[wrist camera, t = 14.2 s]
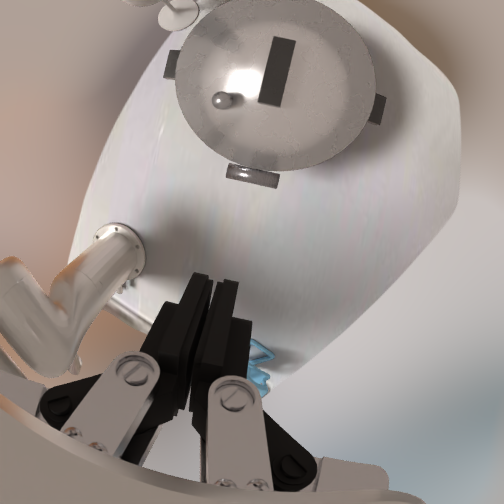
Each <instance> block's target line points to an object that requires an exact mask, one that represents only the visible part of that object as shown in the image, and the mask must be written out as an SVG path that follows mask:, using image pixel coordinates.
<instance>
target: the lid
mask: <svg viewBox="0 0 504 504" xmlns="http://www.w3.org/2000/svg"><path fill="white" fill-rule="evenodd" d="M175 86H176V94H177V98H178V102H179V105H180V108H181V110H182V113H183V115H184V117H185V119H186V121H187V122H188V124H189V125H190V127H191V128H192V130H193V131H194V132H195V133H196V135H197V136H198V137H199V138H200V139H201V140H202V141H203V142H204V143H205V144H206V145H207V146H208V147H210V148H211V149H213V150H214V151H215V152H217V153H218V154H220V155H222V156H223V157H225V158H227V159H229V160H231V161H233V162H236V163H238V164H240V165H236V164H231V163H229V165H228V168H227V173H226V178H229V179H234V180H239V181H243V182H248V183H252V184H257V185H261V186H266V187H270V188H274V189H277V186H278V182H279V177H280V174H277V173H272V172H268V171H291V170H298V169H303V168H308V167H311V166H314V165H317V164H320V163H322V162H324V161H326V160H328V159H330V158H332V157H334V156H335V155H337V154H338V153H340V152H341V151H343V150H344V149H345V148H346V147H347V146H348V145H350V144H351V143H352V142H353V140H354V139H355V138H356V137H357V136H358V135H359V133H360V132H361V131H362V129H363V128H364V126H365V124H366V122H367V120H368V118H369V116H370V114H371V111H372V108H373V104H374V99H375V93H376V78H375V70H374V66H373V62H372V59H371V56H370V54H369V51H368V49H367V47H366V45H365V43H364V42H363V40H362V38H361V37H360V35H359V34H358V33H357V32H356V30H355V29H354V28H353V27H352V26H351V25H350V24H349V23H348V22H347V21H346V20H345V19H344V18H343V17H342V16H340V15H339V14H338V13H336V12H335V11H334V10H332V9H330V8H329V7H327V6H325V5H323V4H322V3H319V2H317V1H315V0H231V1H229V2H227V3H224V4H222V5H221V6H219V7H217V8H216V9H214V10H213V11H211V12H210V13H209V14H207V15H206V16H205V17H204V18H203V19H201V21H200V22H199V23H198V24H197V25H196V26H195V27H194V28H193V29H192V31H191V32H190V34H189V35H188V37H187V38H186V40H185V42H184V44H183V46H182V48H181V51H180V54H179V57H178V60H177V66H176V72H175ZM241 165H243V166H241ZM246 166H247V167H246ZM250 167H251V168H250ZM259 169H260V170H259ZM264 170H266V171H264Z"/></svg>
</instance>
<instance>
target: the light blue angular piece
mask: <svg viewBox="0 0 504 504" xmlns="http://www.w3.org/2000/svg"><path fill="white" fill-rule="evenodd" d="M251 344H253V345H254V346H256V347H257V348H258V349H260V350H261V351H263V352H264V353H266V354H267V355H268V356H266V357H263V358H259V359H255V360H251V361H248V371H247V380H249V381H250V382H252V383H253V384H254V385H255V386H256V387H257V389H258V390H259V392H260V395H261V398H262V397H263V396H264V395H265V394H266V393H267V392H268V388H267V385H266V380H268V379H270V375H269V374H267V373H265V372H263V371H262V370H260V369H258V368H257V367H256V366H254V365H255V364H258V363H262V362H265V361H269V360H271V359H274V358H275V356H274V354H273V353H272V352H270V351H269V350H267V349H266V348H264V347H263V346H262V345H260V344H259V343H257V342H256V341H254V340H253V339H251V341H250V345H251ZM260 383H262V384H263V385H260Z"/></svg>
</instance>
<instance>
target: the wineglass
mask: <svg viewBox="0 0 504 504" xmlns="http://www.w3.org/2000/svg"><path fill="white" fill-rule="evenodd" d="M122 1H123V2H125V3H127V4H129V5H132V6H137V7H143V6H150V5H153V4H155V3H157V2H159V1H162V2H163V3H164V4H165V6H164V7H163V8H162V9H161V11H160V13H159V16H158V22H159V24H160V26H161V27H162V28H164V29H166V30H168V31H178V30H182V29H184V28H186V27H188V26H190V25H191V24H192V23H193V22H194V21H195V19H196V18H197V16H198V11H199V10H198V6H197V4H196V3H195V2H194V1H192V0H173V1H171V2H169V1H168V0H122Z"/></svg>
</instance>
